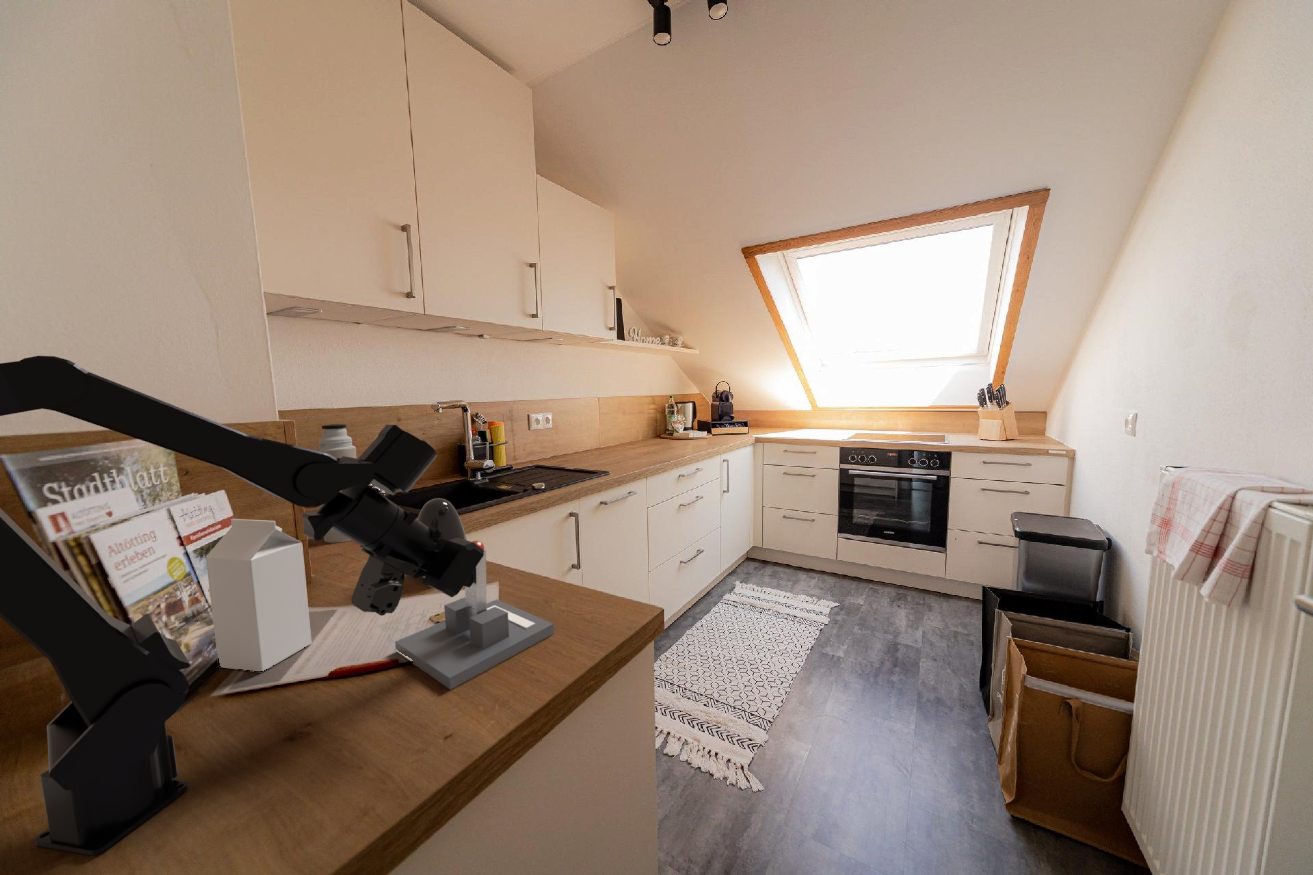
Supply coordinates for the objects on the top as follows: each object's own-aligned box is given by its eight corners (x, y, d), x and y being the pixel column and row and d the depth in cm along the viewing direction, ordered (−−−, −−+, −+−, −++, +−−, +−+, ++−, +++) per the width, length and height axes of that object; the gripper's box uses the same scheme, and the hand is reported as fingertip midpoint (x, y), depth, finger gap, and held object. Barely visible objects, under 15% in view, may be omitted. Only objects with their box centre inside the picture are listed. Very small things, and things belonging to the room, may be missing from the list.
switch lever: (473, 624, 65) (473, 544, 64) (462, 619, 67) (461, 541, 66) (489, 618, 67) (488, 540, 66) (478, 613, 69) (477, 537, 68)
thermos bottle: (353, 530, 122) (344, 422, 119) (369, 535, 118) (360, 423, 115) (318, 539, 116) (307, 425, 113) (333, 544, 111) (323, 426, 109)
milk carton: (262, 673, 61) (246, 529, 59) (217, 668, 62) (201, 526, 60) (312, 644, 67) (300, 514, 65) (271, 639, 69) (258, 512, 67)
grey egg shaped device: (421, 591, 85) (415, 508, 83) (406, 574, 93) (400, 498, 91) (478, 575, 92) (473, 498, 90) (459, 561, 99) (455, 490, 98)
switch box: (450, 689, 57) (447, 650, 56) (395, 651, 65) (393, 617, 65) (553, 633, 69) (552, 600, 69) (497, 607, 78) (495, 578, 77)
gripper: (298, 569, 58) (398, 619, 68) (363, 610, 46) (472, 663, 56) (363, 493, 63) (447, 550, 73) (436, 514, 52) (524, 578, 62)
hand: (469, 583), depth 66 cm, fingers closed, pressing on switch lever
